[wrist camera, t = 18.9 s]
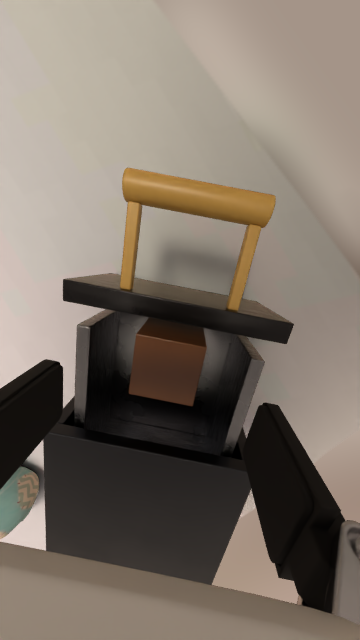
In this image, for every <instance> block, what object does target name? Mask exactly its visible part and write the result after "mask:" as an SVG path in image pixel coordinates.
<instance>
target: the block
mask: <svg viewBox="0 0 360 640" xmlns="http://www.w3.org/2000/svg"><path fill="white" fill-rule="evenodd" d="M206 350H207V345H206V339H205V334H204V328H201V327H195V326H190V325H185V324H180V323H175V322H170V321H165V320H160V319H154V318H148V320H147V321H146V322H145V323H144V325H143V326H142V327H141V328H140V330H139V331H138V332H137V333H136V337H135V345H134V353H133V361H132V369H131V377H130V385H129V394H132V395H137V396H142V397H147V398H152V399H157V400H162V401H167V402H172V403H178V404H183V405H188V406H193V403H194V399H195V395H196V391H197V387H198V383H199V379H200V375H201V371H202V367H203V363H204V359H205V354H206Z"/></svg>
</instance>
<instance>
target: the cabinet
mask: <svg viewBox="0 0 360 640" xmlns="http://www.w3.org/2000/svg"><path fill="white" fill-rule="evenodd" d="M74 404H75V396H74V397H73V398H72V399H71V401H70V402H69V403H68V404H67V405H66V406H65V407H64V408H63V413H62V416H61V418H60V419H59V421H58V422H57V423H56V424H55V426H54V427H53V428H52V429H51V430H50V431H49V433H48V434H47V435H46V436H45V437H44V439H43V442H44V481H45V520H46V551H50V552H55V553H59V554H64V555H69V556H74V557H79V558H84V559H89V560H94V561H99V562H104V563H108V564H113V565H118V566H123V567H128V568H133V569H138V570H142V571H147V572H152V573H157V574H162V575H167V576H171V577H176V578H181V579H186V580H190V581H195V582H200V583H204V584H209V585H212V582H213V580H214V577H215V575H216V572H217V570H218V567H219V565H220V563H221V560H222V558H223V555H224V553H225V551H226V548H227V546H228V543H229V541H230V539H231V536H232V534H233V531H234V529H235V526H236V524H237V522H238V519H239V517H240V514H241V512H242V509H243V507H244V505H245V502H246V500H247V497H248V495H249V493H250V490H251V485H250V481H249V477H248V474H247V470H246V466H245V462H244V458H243V447H244V444H245V442H246V436H245V433H244V430H243V427H242V429H241V432H240V435H239V438H238V440H237V443H236V446H235V449H234V452H233V455H232V458H229V457H224V456H219V455H214V454H209V453H204V452H199V451H194V450H189V449H184V448H179V447H174V446H169V445H164V444H159V443H154V442H149V441H144V440H139V439H134V438H129V437H124V436H119V435H114V434H109V433H104V432H99V431H94V430H89V429H84V428H79V427H74Z"/></svg>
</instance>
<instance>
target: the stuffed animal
mask: <svg viewBox="0 0 360 640" xmlns="http://www.w3.org/2000/svg"><path fill="white" fill-rule="evenodd" d="M38 490H39V479H38V476H37V475H36V474H35V473H34V472H33V471H31V470H29V469H27V468H25V467H19V468H18V469H17V471H16V472H15V473H14V474H13V475H12V476H11V478H10V479H9V480H8V481H7V482H6V484H5V485H4V486H3V487H2V488H1V489H0V539H1V538H3V537H5V536H6V535H7V534H9V533H10V532H11V531H12V530H13V529H14V528H15V527H16V526H17V525H18V524H19V523H20V522H21V521H23V520H24V519H25V517H26V516H27V515H28V514H29V512H30V510H31V508H32V506H33V504H34V502H35V499H36V496H37V493H38Z"/></svg>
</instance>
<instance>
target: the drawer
mask: <svg viewBox="0 0 360 640" xmlns="http://www.w3.org/2000/svg"><path fill="white" fill-rule="evenodd" d="M122 189H123V196H124V199H125V201H126V202H128V207H127V217H126V228H125V239H124V249H123V260H122V271H121V275H118V274H113V273H109V274H101V275H93V276H85V277H77V278H69V279H64V280H63V300H64V301H67V302H73V303H78V304H83V305H88V306H93V307H98V308H103V309H106V310H104V311H102V312H100V313H99V314H97V315H95V316H93V317H91V318H89V319H87V320H85V321H84V322H82V323H80V324H78V325H77V342H76V373H75V404H74V427H79V428H84V429H89V430H94V431H99V432H104V433H109V434H114V435H119V436H124V437H129V438H134V439H139V440H144V441H149V442H154V443H159V444H164V445H169V446H174V447H179V448H184V449H189V450H194V451H199V452H204V453H209V454H214V455H219V456H224V457H229V458H232V455H233V452H234V449H235V446H236V443H237V440H238V438H239V435H240V432H241V429H242V426H243V423H244V420H245V417H246V415H247V412H248V409H249V406H250V403H251V400H252V397H253V394H254V392H255V389H256V386H257V383H258V380H259V377H260V374H261V371H262V369H263V366H264V363H265V361H264V360H263V359H262V357H261V356H260V354H259V353H258V352H257V350H256V349H255V348H254V346H253V345H252V344H251V342H250V341H249V339H248V338H247V337H252V338H257V339H262V340H267V341H272V342H277V343H283V344H287V342H288V339H289V336H290V334H291V331H292V328H293V326H294V324H293V323H291V322H290V321H288V320H286V319H285V318H283V317H281V316H280V315H278V314H276V313H275V312H273V311H271V310H270V309H268V308H266V307H265V306H263V305H261V304H260V303H258V302H256V301H252V300H247V299H242V295H243V292H244V288H245V284H246V281H247V277H248V274H249V270H250V267H251V263H252V259H253V256H254V252H255V249H256V245H257V241H258V238H259V234H260V231H261V228H264V227H265V226H266V225H267V223H268V222H269V220H270V218H271V216H272V213H273V210H274V206H275V200H276V198H275V196H274V195H270V194H264V193H259V192H254V191H249V190H243V189H238V188H233V187H227V186H222V185H217V184H212V183H206V182H201V181H196V180H191V179H185V178H180V177H175V176H169V175H164V174H159V173H154V172H148V171H143V170H138V169H133V168H126V169H125V171H124V174H123V180H122ZM141 205H145V206H150V207H155V208H161V209H166V210H171V211H176V212H182V213H187V214H192V215H197V216H203V217H208V218H213V219H218V220H224V221H229V222H234V223H239V224H244V225H248V226H247V228H246V232H245V235H244V239H243V243H242V247H241V251H240V255H239V259H238V262H237V266H236V270H235V274H234V278H233V282H232V286H231V289H230V293H229V296H226V295H221V294H216V293H211V292H206V291H200V290H195V289H190V288H185V287H180V286H175V285H169V284H164V283H159V282H154V281H149V280H144V279H138V278H134V276H135V267H136V258H137V249H138V240H139V232H140V223H141V214H142V206H141ZM148 318H154V319H160V320H165V321H170V322H175V323H180V324H185V325H190V326H195V327H201V328H204V334H205V339H206V345H207V350H206V354H205V359H204V363H203V367H202V371H201V375H200V379H199V383H198V387H197V391H196V395H195V399H194V403H193V406H188V405H183V404H178V403H172V402H167V401H162V400H157V399H152V398H147V397H142V396H137V395H132V394H129V385H130V377H131V369H132V361H133V353H134V345H135V337H136V333H137V332H138V331H139V330H140V328H141V327H142V326H143V325H144V323H145V322H146V321H147V320H148ZM246 336H247V337H246Z"/></svg>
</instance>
